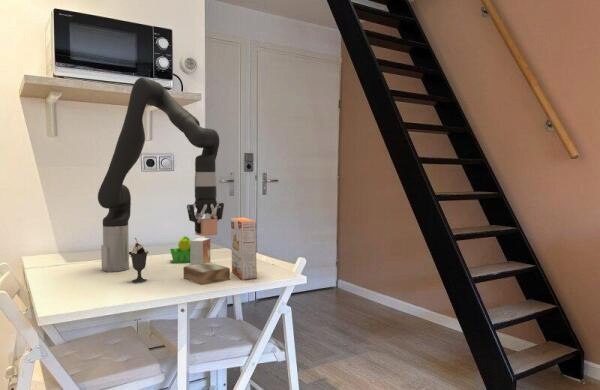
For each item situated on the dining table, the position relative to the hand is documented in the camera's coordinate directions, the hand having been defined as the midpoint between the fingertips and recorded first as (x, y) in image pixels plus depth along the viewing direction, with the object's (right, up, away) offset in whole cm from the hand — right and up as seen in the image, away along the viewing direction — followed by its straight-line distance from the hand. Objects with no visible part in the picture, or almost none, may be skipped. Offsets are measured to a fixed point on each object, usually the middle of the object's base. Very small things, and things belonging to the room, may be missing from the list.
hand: (206, 232), depth 157 cm
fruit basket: (-16, -15, +31) cm, 38 cm away
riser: (0, -17, +1) cm, 17 cm away
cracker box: (+12, -17, +6) cm, 22 cm away
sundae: (-23, -17, -3) cm, 28 cm away
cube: (0, -1, 0) cm, 1 cm away
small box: (-8, -16, +25) cm, 31 cm away
